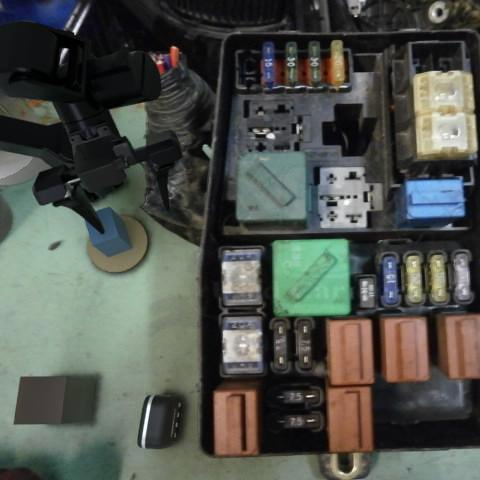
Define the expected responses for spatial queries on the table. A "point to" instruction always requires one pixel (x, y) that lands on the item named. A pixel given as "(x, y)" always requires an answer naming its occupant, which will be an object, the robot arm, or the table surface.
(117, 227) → the relay
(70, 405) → the block
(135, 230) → the tan disc
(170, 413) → the battery charger
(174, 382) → the table surface
